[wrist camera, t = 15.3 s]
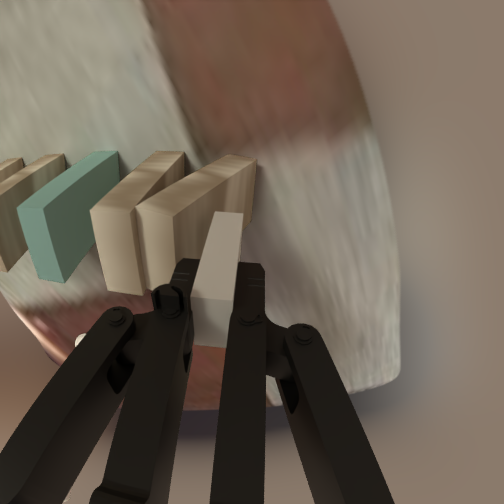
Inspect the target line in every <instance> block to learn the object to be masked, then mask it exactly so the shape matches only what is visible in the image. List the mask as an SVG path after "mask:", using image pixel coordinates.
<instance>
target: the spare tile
mask: <svg viewBox="0 0 504 504" xmlns="http://www.w3.org/2000/svg"><path fill="white" fill-rule="evenodd" d="M119 182H120V174H119V162H118V151H101V152H93V153H92V154H90V155H89V156H87V157H85V158H84V159H82V160H81V161H79V162H78V163H76V164H75V165H73V166H72V167H70V168H69V169H67V170H66V171H64V172H63V173H62V174H60V175H59V176H57V177H56V178H54V179H53V180H52V181H50V182H49V183H48V184H46V185H45V186H43V187H42V188H41V189H39V190H38V191H37V192H36V193H34V194H33V195H32V196H30V197H29V198H28V199H27V200H25V201H24V202H23V203H22V204H20V205H19V206H18V207H17V212H18V216H19V219H20V223H21V226H22V230H23V233H24V236H25V240H26V243H27V246H28V249H29V252H30V255H31V258H32V261H33V263H34V266H35V269H36V272H37V274H38V277H39V279H43V280H48V281H54V282H60V283H65V282H66V281H67V280H68V278H69V277H70V275H71V274H72V272H73V271H74V270H75V268H76V267H77V266H78V264H79V263H80V261H81V260H82V259H83V257H84V256H85V255H86V253H87V252H88V251H89V249H90V248H91V247H92V246H93V244H94V243H95V242H96V240H95V235H94V230H93V225H92V220H91V214H90V210H91V209H92V208H93V207H94V206H95V205H96V204H97V203H98V202H99V201H100V200H101V199H102V198H103V197H104V196H105V195H106V194H107V193H108V192H109V191H111V190H112V189H113V188H114V187H115V186H116V185H117V184H118V183H119Z"/></svg>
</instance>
